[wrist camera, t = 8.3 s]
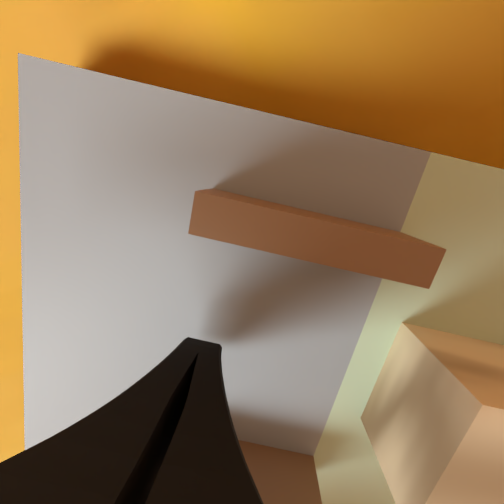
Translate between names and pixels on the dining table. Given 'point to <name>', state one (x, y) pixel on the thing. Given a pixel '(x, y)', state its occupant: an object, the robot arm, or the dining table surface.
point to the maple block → (439, 418)
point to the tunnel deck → (240, 264)
